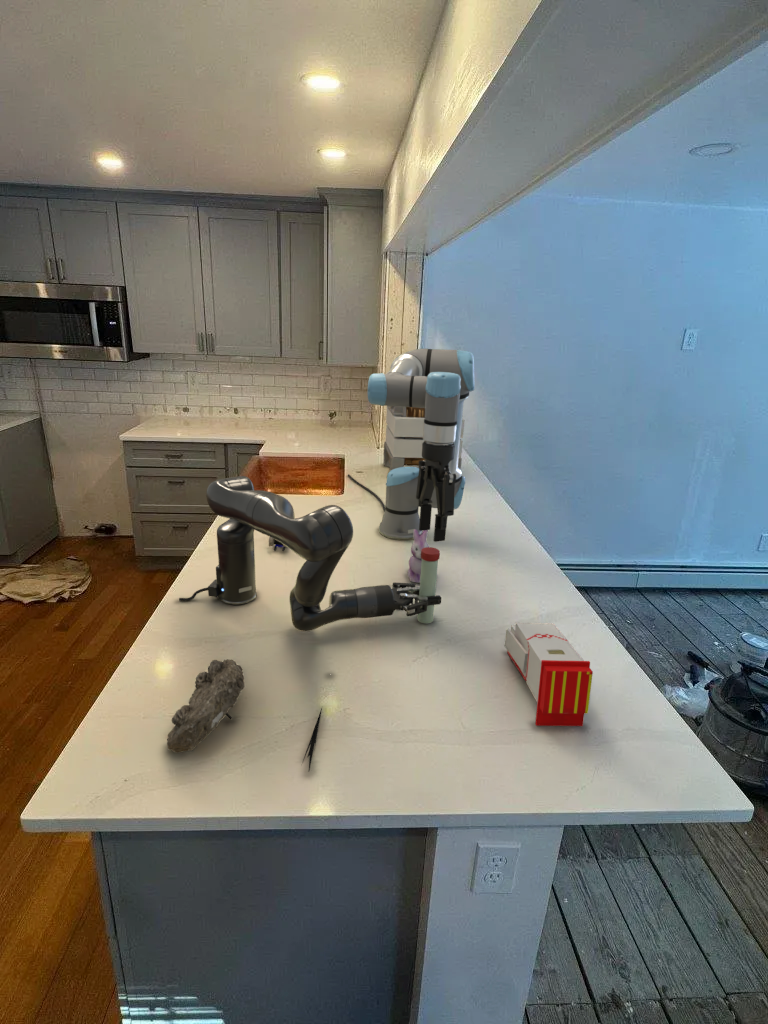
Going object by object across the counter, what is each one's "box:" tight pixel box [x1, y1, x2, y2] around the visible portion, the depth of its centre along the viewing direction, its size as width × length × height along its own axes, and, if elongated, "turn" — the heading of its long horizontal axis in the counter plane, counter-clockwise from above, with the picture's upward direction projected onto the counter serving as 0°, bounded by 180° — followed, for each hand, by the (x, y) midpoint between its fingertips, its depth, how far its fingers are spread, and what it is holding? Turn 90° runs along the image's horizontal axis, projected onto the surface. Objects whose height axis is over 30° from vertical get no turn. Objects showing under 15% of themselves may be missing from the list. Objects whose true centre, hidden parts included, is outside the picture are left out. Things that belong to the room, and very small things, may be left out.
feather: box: [301, 673, 332, 771], centre depth 108 cm, size 2×28×2 cm
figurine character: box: [268, 536, 288, 552], centre depth 185 cm, size 7×8×15 cm
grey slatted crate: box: [383, 406, 465, 472], centre depth 268 cm, size 34×33×41 cm
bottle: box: [416, 559, 439, 624], centre depth 142 cm, size 4×4×19 cm
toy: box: [503, 622, 594, 727], centre depth 121 cm, size 12×13×30 cm
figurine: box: [407, 529, 430, 584], centre depth 166 cm, size 9×10×15 cm
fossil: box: [166, 658, 245, 754], centre depth 106 cm, size 22×10×15 cm
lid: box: [421, 546, 441, 561], centre depth 139 cm, size 5×5×2 cm
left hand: (437, 595), depth 144 cm, fingers closed on bottle, 4 cm apart
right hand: (431, 535), depth 137 cm, fingers open, 7 cm apart
